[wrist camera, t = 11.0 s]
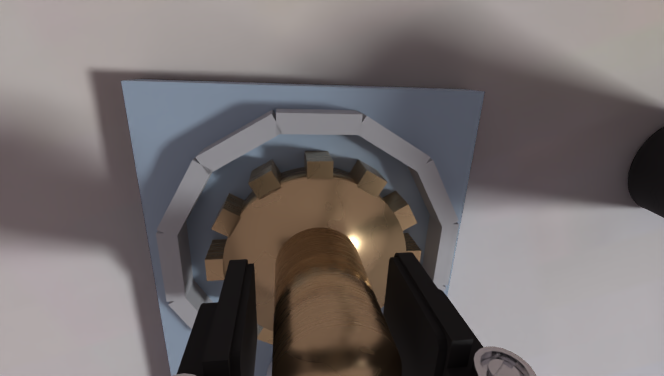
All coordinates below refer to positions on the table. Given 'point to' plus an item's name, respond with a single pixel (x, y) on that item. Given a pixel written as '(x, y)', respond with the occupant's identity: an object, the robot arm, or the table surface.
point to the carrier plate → (286, 168)
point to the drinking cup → (649, 175)
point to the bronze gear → (318, 264)
